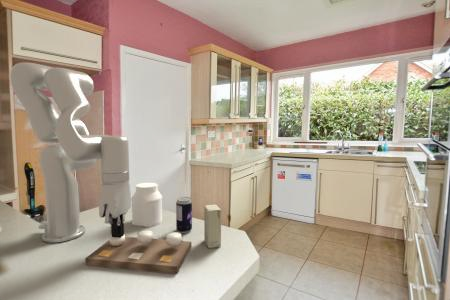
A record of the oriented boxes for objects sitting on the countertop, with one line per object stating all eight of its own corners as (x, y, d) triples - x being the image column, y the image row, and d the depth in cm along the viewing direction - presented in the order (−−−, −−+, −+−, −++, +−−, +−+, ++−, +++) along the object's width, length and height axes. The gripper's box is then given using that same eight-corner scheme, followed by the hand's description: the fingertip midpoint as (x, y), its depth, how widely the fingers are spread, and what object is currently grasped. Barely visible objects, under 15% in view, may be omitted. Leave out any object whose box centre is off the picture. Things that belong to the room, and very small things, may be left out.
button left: (106, 245, 74) (106, 238, 73) (114, 238, 78) (114, 232, 78) (120, 246, 73) (120, 239, 73) (127, 239, 77) (127, 233, 77)
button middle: (134, 242, 72) (134, 236, 72) (141, 236, 77) (141, 229, 76) (148, 243, 72) (148, 237, 72) (155, 237, 76) (155, 230, 76)
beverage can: (188, 234, 87) (188, 201, 86) (173, 233, 88) (173, 200, 87) (194, 228, 93) (194, 197, 92) (179, 226, 94) (179, 196, 93)
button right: (164, 244, 71) (164, 238, 71) (169, 238, 76) (169, 231, 75) (178, 246, 71) (178, 239, 70) (183, 239, 75) (183, 232, 75)
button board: (85, 265, 67) (85, 257, 67) (114, 241, 81) (114, 235, 81) (177, 273, 64) (177, 265, 64) (191, 247, 78) (191, 241, 78)
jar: (127, 224, 96) (126, 186, 94) (142, 215, 105) (142, 181, 103) (152, 228, 92) (152, 189, 91) (166, 219, 101) (166, 183, 100)
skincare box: (221, 247, 79) (221, 209, 77) (208, 248, 77) (208, 211, 76) (216, 238, 85) (216, 203, 84) (203, 239, 84) (204, 204, 82)
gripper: (118, 172, 81) (119, 225, 83) (87, 182, 67) (90, 247, 68) (139, 173, 80) (140, 227, 82) (113, 183, 66) (115, 249, 67)
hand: (117, 236), depth 75 cm, fingers closed
